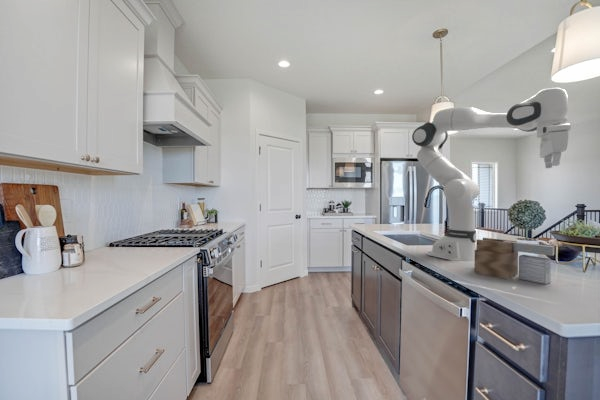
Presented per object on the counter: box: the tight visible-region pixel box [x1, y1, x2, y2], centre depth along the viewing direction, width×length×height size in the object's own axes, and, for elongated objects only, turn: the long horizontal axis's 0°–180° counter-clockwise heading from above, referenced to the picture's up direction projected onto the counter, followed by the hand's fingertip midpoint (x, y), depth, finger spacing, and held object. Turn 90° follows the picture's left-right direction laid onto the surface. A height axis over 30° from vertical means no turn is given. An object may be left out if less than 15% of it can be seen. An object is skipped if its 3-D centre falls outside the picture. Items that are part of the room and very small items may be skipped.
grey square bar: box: [503, 240, 555, 257], centre depth 98 cm, size 14×3×3 cm, turn 38°
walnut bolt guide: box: [474, 237, 519, 281], centre depth 105 cm, size 11×12×13 cm
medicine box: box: [518, 253, 552, 285], centre depth 96 cm, size 8×4×9 cm, turn 32°
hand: (552, 166), depth 103 cm, fingers open, 8 cm apart
